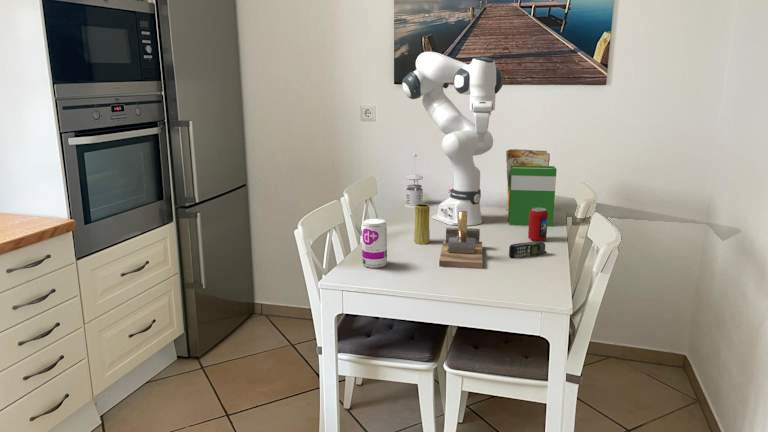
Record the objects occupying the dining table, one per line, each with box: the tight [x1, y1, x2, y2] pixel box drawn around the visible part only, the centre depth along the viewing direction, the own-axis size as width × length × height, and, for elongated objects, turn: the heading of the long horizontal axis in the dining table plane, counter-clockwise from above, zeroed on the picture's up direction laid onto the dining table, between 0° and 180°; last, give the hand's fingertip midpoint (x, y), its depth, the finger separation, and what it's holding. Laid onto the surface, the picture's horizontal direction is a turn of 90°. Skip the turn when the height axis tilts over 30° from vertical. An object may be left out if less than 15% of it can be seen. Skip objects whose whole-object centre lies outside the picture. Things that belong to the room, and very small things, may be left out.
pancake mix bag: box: [505, 148, 551, 211], centre depth 261 cm, size 7×19×28 cm, turn 71°
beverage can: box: [527, 207, 548, 242], centre depth 218 cm, size 7×7×12 cm
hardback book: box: [507, 165, 557, 227], centre depth 240 cm, size 18×7×24 cm, turn 82°
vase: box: [413, 203, 431, 245], centre depth 216 cm, size 6×6×14 cm
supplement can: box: [361, 217, 388, 269], centre depth 191 cm, size 8×8×15 cm
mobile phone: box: [508, 241, 547, 259], centre depth 201 cm, size 5×3×15 cm
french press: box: [403, 153, 424, 209], centre depth 273 cm, size 10×12×25 cm
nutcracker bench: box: [438, 227, 483, 269], centre depth 200 cm, size 24×14×7 cm, turn 171°
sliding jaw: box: [448, 211, 475, 253], centre depth 198 cm, size 6×9×14 cm, turn 81°
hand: (480, 144), depth 205 cm, fingers open, 8 cm apart
